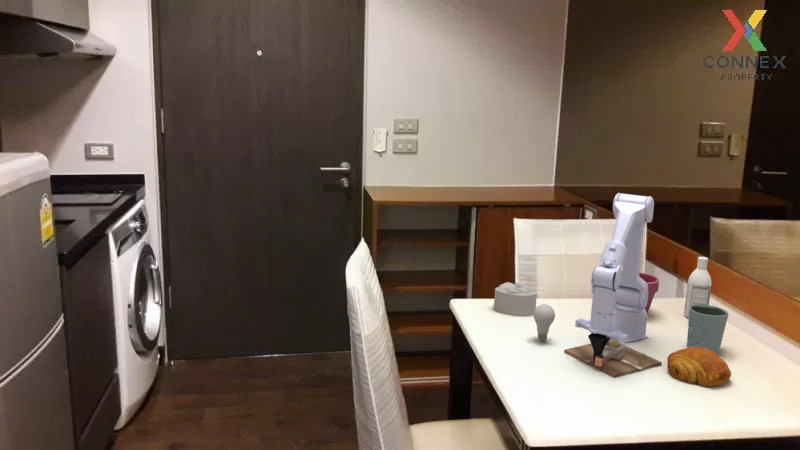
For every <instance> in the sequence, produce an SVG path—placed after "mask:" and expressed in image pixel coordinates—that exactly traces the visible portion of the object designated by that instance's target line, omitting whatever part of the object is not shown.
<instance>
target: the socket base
mask: <svg viewBox="0 0 800 450" xmlns="http://www.w3.org/2000/svg"><path fill="white" fill-rule="evenodd" d="M618 343H620V342H619V341H617V340H614V339H612V338H611V339H610V340H609V346H611V347H615V348H618ZM563 352H564V353H565V354H567V355H568V356H569V357H572V358H574V359H577V360H579V361H580V362H582V363H584V364H586V365H587V366H590V367H592V368H594V369H596V370H597V371H599V372H602V373H604V374H606V375H608V376H610V377H611V378H613V379H615V378H620V377H623V376H625V375H626V376H627V375H629V374H633V373H634V374H635V373H637V372H641V371H644V370H648V369H652V368H655V367H660V366H662V365H663V362H662V361H661V360H658V359H656V358H653V357H652V356H649V355H647V354H646V353H644V352H640V351H639V350H636V349H633V348H631V347H629V346H627V345H626V348H625V354H624V355H623V356H622V357H621V358H620V359H619V360H617V359H614V358H611V359H610V360H608V361H607V362H606V363H605V364H604V365H603V366H602V367H599V366H596V365H595V360H593V353H594V351H593V347H592V344H591V343H588V344H582V345H579V346H578V345H577V346H574V347H570V348H566V349H564V350H563ZM564 353H563V354H564Z"/></svg>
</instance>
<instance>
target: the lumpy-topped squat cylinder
mask: <svg viewBox="0 0 800 450" xmlns="http://www.w3.org/2000/svg"><path fill="white" fill-rule="evenodd" d="M537 296H538V294H537V291H536V290H535V289H533V288H532V287H530V286H528V285H526V284H525V283H523V282H515V284H514V283H513V282H509V281H507V282H504V283H501V284H499V286H498V287H495V289H494V298H493V301H494V302H493V311H494V312H496V313H498V314H499V313H500V314H503V315H507V316H512V317H533V313H534V310H535V308H536V307H537Z"/></svg>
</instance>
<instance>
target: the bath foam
mask: <svg viewBox="0 0 800 450" xmlns="http://www.w3.org/2000/svg"><path fill="white" fill-rule="evenodd" d="M708 262H709V259H708V257H705V256H698V258H697V263H696V268H695V269H694V270H693V271H692V273H690V275H689V277H688V280H687V286H686V294H685V295H686V296H685V301H684V302H685V303H684V308H683V309H684V310H683V315H684V317H685V318H687V319H689V306H691V305H695V304H702V305H710V299H711V298H710V297H711V291H712V285H713V284H712V277H711V275H710V273H709V271H708V268H707V267H708Z"/></svg>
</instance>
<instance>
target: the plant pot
mask: <svg viewBox="0 0 800 450" xmlns="http://www.w3.org/2000/svg"><path fill="white" fill-rule="evenodd" d="M639 276H640V277H641V278H642V279H643V280H644V281H645V282H646V283H647V284H648V302H647V305H646V307H645V311H646V313H647V315H648V313H649V312H650V309H651V305H652V303H653V300H654V297H655V293H657V292H659V287H660V286H659V285H660V279H659V278H658V277H657V276H655V275H653V274H649V273H646V272H640V271H639Z"/></svg>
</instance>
